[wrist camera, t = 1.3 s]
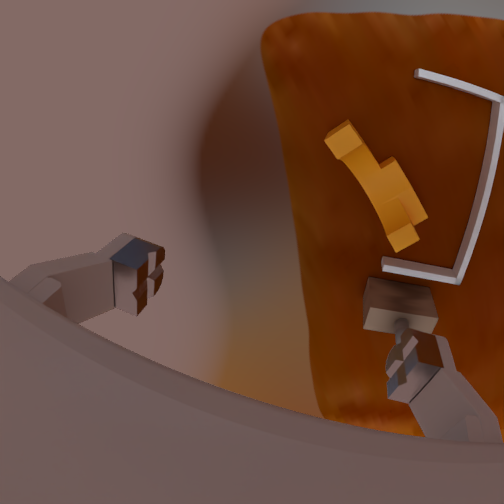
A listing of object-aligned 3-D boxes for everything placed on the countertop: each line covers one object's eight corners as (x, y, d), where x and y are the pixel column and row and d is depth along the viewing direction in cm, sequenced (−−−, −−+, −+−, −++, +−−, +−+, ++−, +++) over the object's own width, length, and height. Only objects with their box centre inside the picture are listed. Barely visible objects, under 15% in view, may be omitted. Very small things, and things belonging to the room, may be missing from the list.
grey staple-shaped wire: (499, 96, 22) (507, 97, 20) (455, 276, 33) (459, 285, 31) (414, 70, 24) (418, 68, 23) (381, 262, 35) (382, 270, 33)
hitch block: (429, 287, 34) (443, 336, 27) (421, 306, 36) (432, 357, 28) (368, 276, 36) (370, 326, 28) (362, 296, 38) (362, 347, 30)
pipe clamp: (421, 206, 31) (435, 230, 25) (388, 225, 33) (396, 252, 27) (362, 109, 28) (366, 112, 23) (327, 132, 30) (324, 140, 25)
